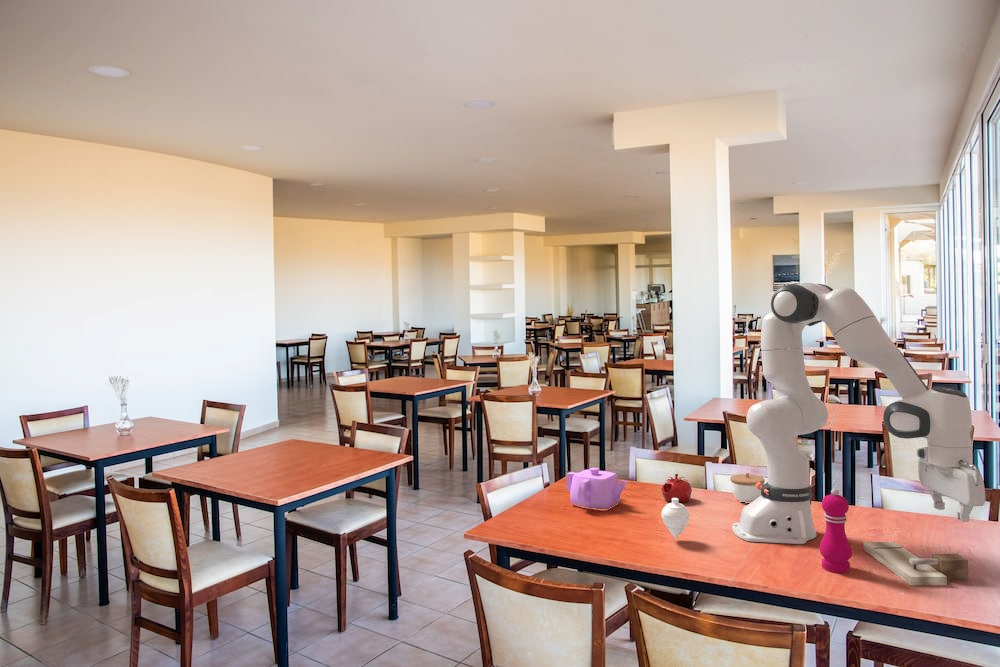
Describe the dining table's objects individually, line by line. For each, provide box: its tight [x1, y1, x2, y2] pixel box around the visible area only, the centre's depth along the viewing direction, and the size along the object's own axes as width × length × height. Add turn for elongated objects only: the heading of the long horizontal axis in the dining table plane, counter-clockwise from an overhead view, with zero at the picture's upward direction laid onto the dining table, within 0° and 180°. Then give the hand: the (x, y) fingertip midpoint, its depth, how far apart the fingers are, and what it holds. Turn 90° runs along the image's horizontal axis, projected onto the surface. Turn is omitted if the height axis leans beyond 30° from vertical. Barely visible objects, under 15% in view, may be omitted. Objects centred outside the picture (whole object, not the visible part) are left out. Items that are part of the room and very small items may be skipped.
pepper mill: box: [819, 488, 853, 574], centre depth 168 cm, size 7×7×20 cm
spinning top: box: [661, 498, 691, 541], centre depth 191 cm, size 8×8×12 cm
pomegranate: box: [661, 473, 693, 503], centre depth 229 cm, size 10×10×9 cm
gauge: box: [909, 553, 969, 582], centre depth 161 cm, size 12×4×5 cm, turn 87°
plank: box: [863, 541, 948, 586], centre depth 168 cm, size 8×23×2 cm, turn 177°
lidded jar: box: [729, 472, 766, 502], centre depth 226 cm, size 11×11×9 cm
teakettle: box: [566, 467, 628, 510], centre depth 228 cm, size 17×17×12 cm
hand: (951, 514), depth 160 cm, fingers open, 8 cm apart
